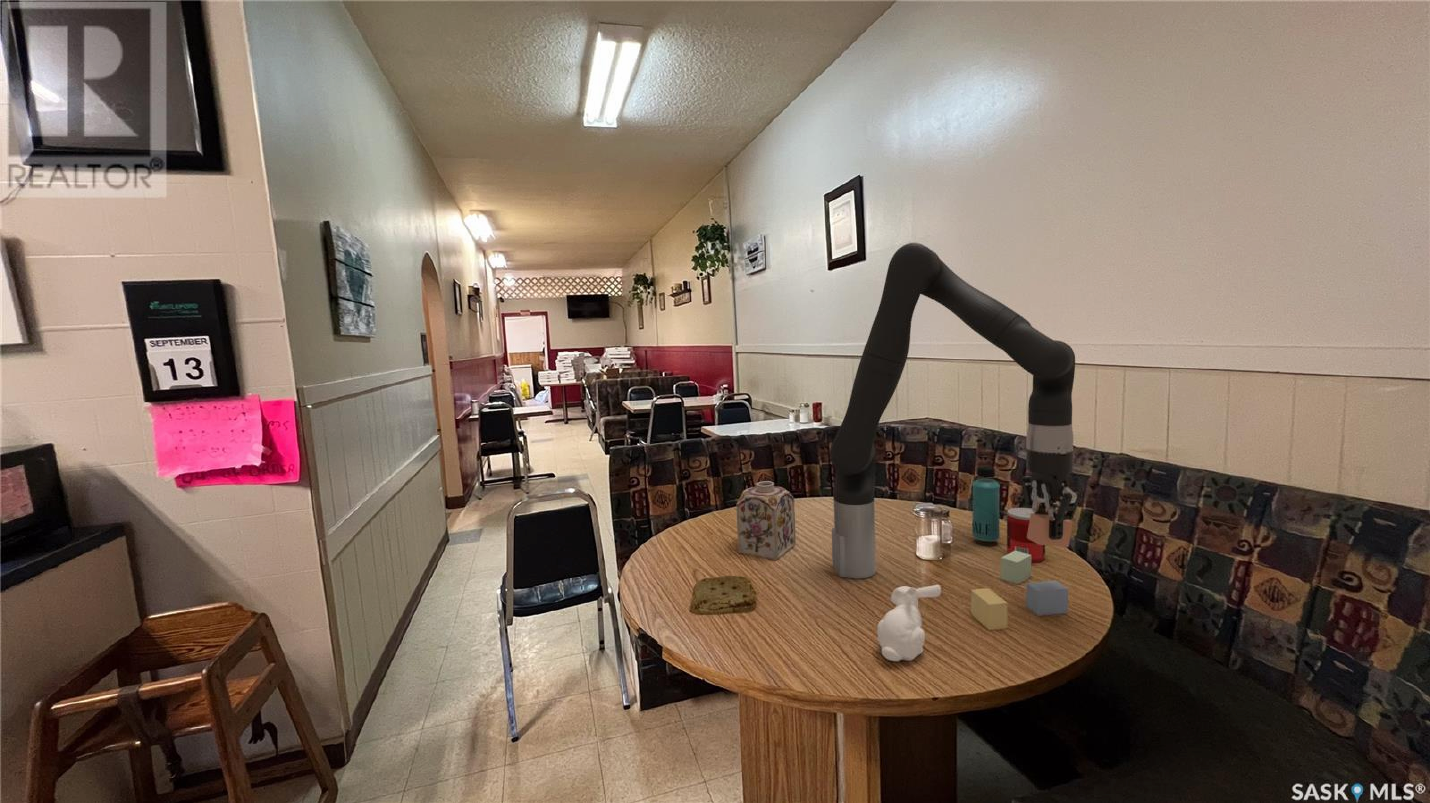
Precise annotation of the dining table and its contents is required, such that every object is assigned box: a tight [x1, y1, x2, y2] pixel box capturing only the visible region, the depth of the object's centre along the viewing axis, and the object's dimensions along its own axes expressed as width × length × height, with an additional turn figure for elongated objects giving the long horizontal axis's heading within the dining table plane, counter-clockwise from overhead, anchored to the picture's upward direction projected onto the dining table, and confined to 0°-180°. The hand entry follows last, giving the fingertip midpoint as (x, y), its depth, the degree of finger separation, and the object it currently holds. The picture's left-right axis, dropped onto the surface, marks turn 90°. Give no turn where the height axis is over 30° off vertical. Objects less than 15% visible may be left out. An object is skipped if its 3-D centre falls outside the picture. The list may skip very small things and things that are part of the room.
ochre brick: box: [970, 587, 1008, 631], centre depth 102 cm, size 6×4×5 cm, turn 5°
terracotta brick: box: [1027, 513, 1074, 548], centre depth 103 cm, size 6×4×5 cm, turn 95°
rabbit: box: [876, 584, 942, 662], centre depth 93 cm, size 12×9×12 cm
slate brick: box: [1025, 580, 1069, 617], centre depth 105 cm, size 6×4×5 cm, turn 95°
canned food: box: [1006, 507, 1046, 564], centre depth 129 cm, size 8×8×11 cm
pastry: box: [689, 575, 758, 616], centre depth 116 cm, size 17×17×3 cm
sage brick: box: [1000, 551, 1032, 585], centre depth 119 cm, size 6×4×5 cm, turn 124°
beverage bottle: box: [971, 466, 1001, 542], centre depth 138 cm, size 6×7×20 cm
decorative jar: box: [735, 480, 797, 561], centre depth 141 cm, size 12×12×18 cm
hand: (1048, 534), depth 103 cm, fingers closed on terracotta brick, 3 cm apart
